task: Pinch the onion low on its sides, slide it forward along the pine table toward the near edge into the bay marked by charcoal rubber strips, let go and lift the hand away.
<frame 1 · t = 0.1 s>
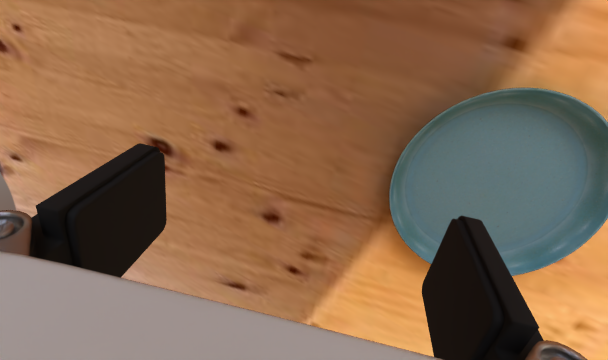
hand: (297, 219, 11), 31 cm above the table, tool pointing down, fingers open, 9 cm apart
saucer: (489, 182, 42), on the table
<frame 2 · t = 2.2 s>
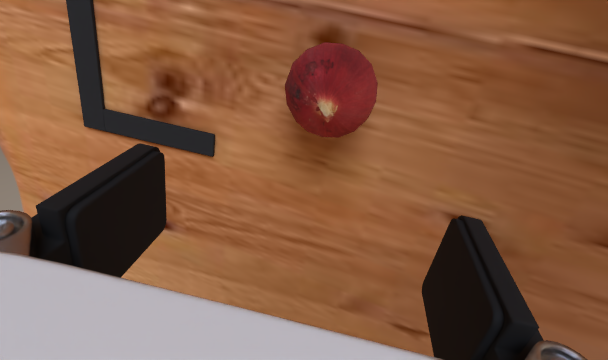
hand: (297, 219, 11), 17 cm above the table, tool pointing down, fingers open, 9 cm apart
onion: (336, 79, 25), on the table
bay: (156, 41, 26), on the table
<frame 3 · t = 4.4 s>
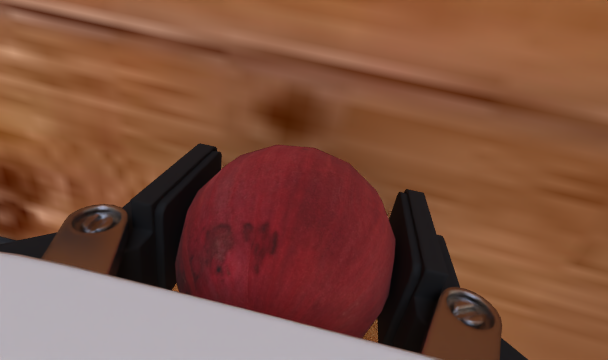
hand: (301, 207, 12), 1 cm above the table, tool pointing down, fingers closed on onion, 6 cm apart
onion: (308, 185, 13), on the table, touching gripper
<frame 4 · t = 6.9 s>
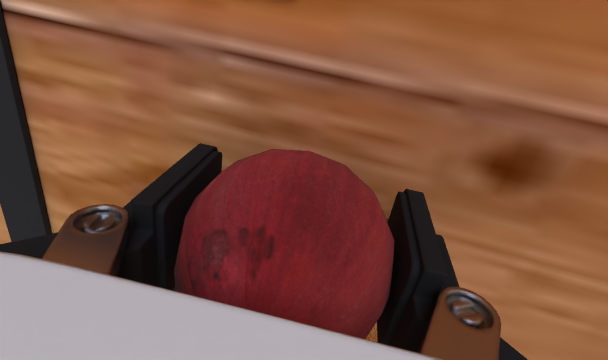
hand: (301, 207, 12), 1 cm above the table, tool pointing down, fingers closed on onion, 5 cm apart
onion: (307, 189, 13), on the table, touching gripper
bay: (146, 153, 13), on the table
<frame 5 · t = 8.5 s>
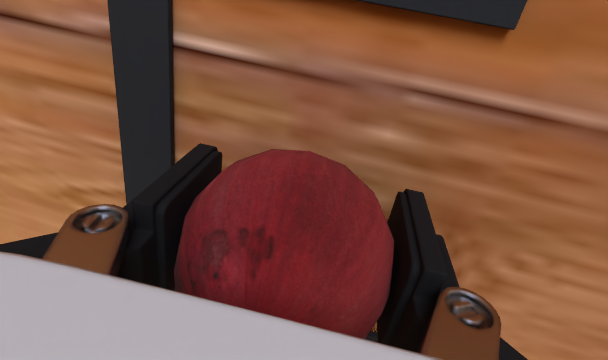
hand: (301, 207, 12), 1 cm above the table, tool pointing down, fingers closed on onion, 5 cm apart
onion: (307, 189, 13), on the table, touching gripper
bay: (300, 188, 13), on the table
when the fingers open (1 cm above the table, at t = 9.3 s): onion stays where it is, on the table.
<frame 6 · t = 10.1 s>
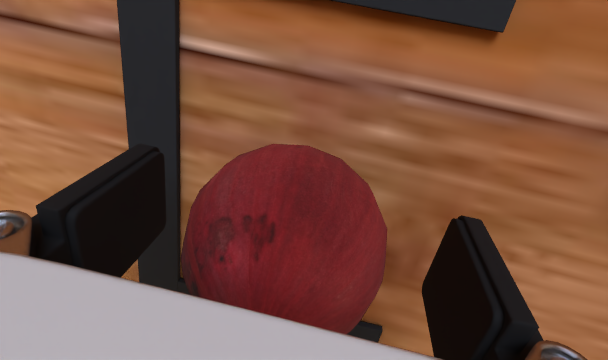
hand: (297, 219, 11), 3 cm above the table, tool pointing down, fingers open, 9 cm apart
onion: (305, 183, 14), on the table
bay: (301, 184, 14), on the table
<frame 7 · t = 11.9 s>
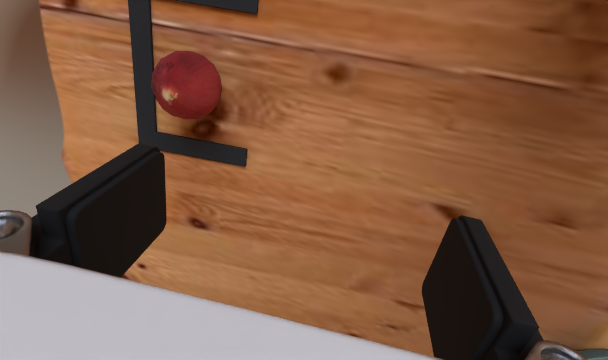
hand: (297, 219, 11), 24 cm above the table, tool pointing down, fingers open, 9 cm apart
onion: (204, 78, 34), on the table
bay: (202, 78, 34), on the table
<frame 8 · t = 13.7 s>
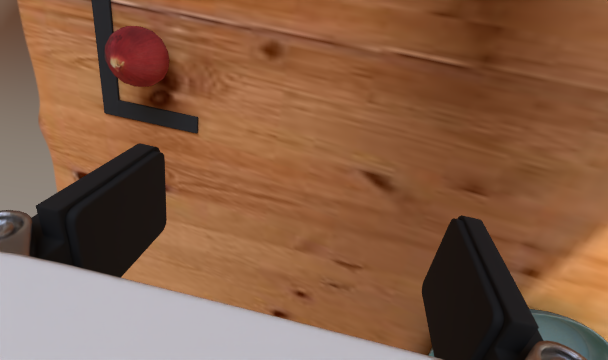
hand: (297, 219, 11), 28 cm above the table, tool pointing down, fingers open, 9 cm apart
onion: (158, 52, 38), on the table
bay: (156, 52, 38), on the table
saucer: (506, 355, 50), on the table
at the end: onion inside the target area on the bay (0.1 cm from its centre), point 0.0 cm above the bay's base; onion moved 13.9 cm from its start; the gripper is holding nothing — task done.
